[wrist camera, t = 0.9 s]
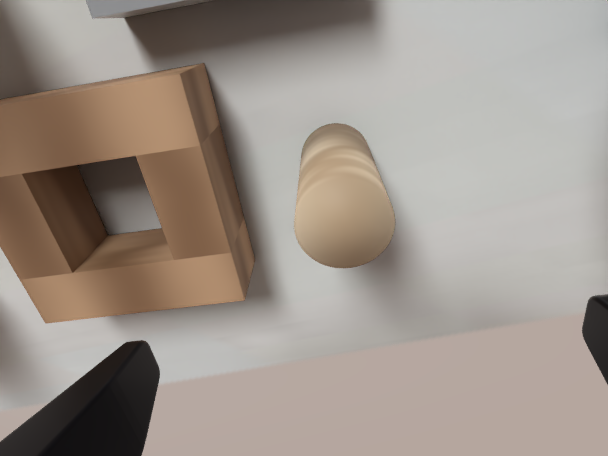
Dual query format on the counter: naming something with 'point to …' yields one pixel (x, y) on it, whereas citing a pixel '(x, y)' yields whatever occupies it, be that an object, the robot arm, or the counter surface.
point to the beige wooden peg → (341, 200)
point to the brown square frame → (159, 180)
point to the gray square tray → (133, 7)
